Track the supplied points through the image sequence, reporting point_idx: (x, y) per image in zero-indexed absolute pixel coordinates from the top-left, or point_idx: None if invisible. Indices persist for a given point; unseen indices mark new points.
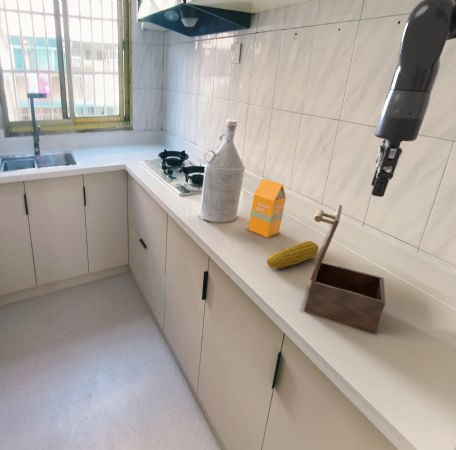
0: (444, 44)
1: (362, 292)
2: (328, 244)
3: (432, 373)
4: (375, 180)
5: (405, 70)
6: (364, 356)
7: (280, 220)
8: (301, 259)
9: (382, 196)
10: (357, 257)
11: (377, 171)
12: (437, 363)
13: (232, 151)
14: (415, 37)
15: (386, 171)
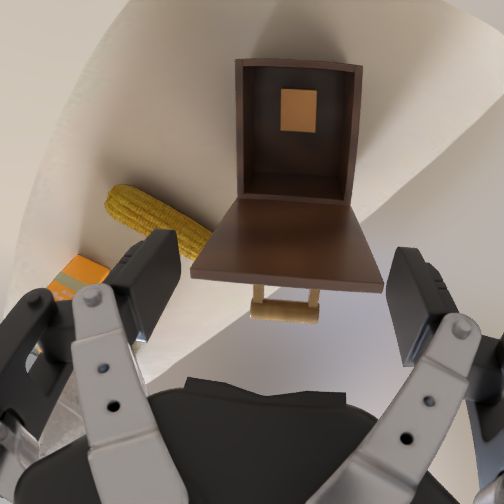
0: None
1: (251, 87)
2: (368, 246)
3: (404, 3)
4: (169, 284)
5: None
6: (418, 92)
7: (65, 270)
8: (169, 208)
9: (414, 248)
10: (69, 110)
11: (145, 328)
12: None
13: (52, 434)
14: None
15: (123, 289)
